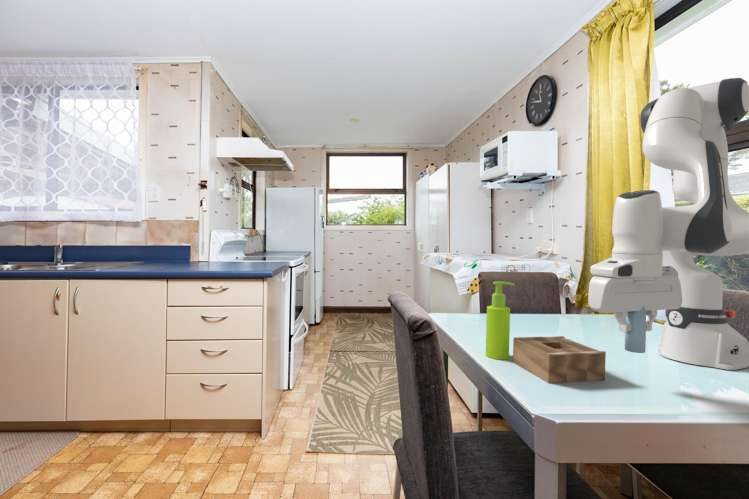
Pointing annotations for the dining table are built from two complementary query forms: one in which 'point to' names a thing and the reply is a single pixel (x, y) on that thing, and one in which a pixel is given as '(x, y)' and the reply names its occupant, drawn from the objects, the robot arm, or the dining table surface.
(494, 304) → the soap dispenser
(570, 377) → the socket block
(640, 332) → the dowel
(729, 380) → the dining table surface
